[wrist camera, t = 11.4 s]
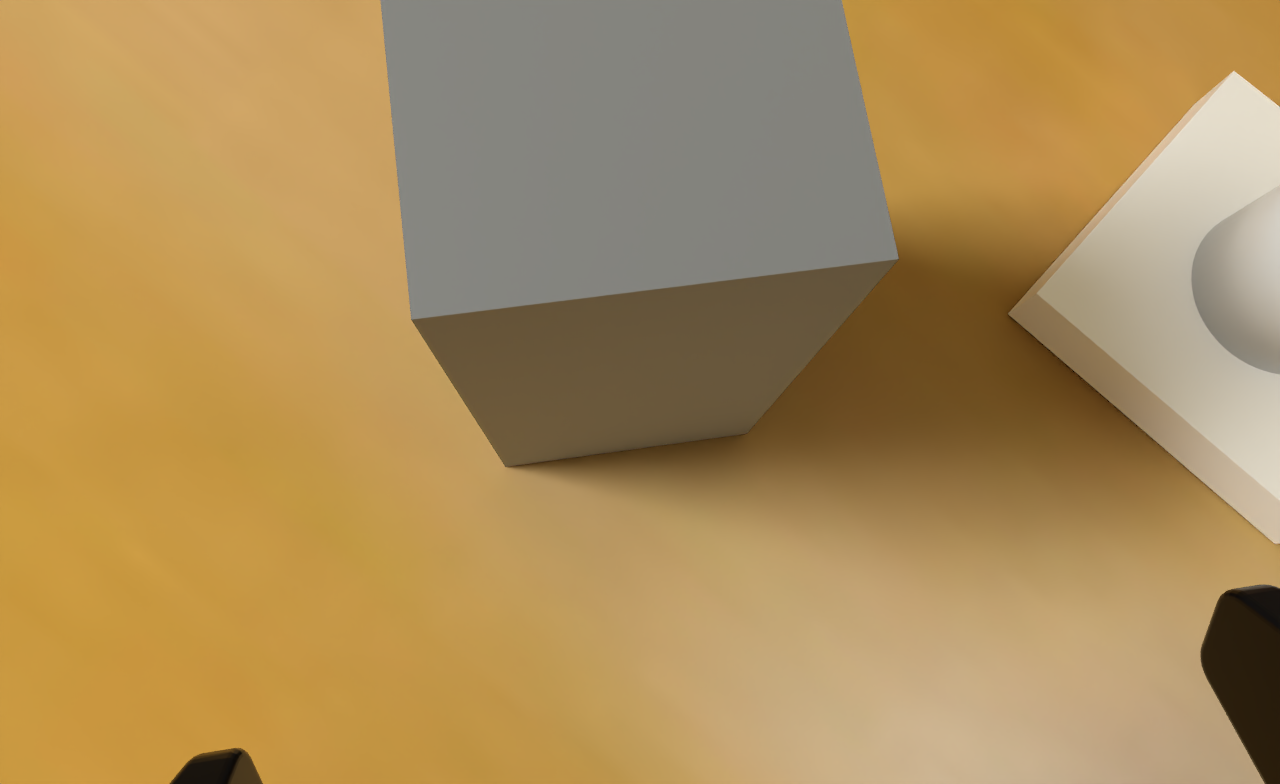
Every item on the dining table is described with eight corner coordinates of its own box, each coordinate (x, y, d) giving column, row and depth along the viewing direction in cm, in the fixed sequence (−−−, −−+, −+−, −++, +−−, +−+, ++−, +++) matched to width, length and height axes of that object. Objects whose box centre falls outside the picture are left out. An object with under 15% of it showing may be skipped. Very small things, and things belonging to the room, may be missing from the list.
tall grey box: (746, 433, 21) (899, 258, 11) (505, 466, 21) (411, 319, 10) (708, 211, 23) (808, -146, 12) (479, 238, 22) (370, -108, 11)
